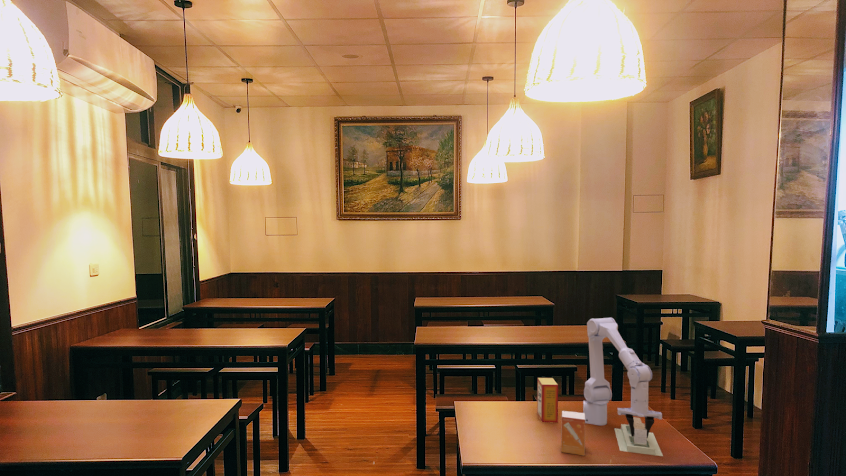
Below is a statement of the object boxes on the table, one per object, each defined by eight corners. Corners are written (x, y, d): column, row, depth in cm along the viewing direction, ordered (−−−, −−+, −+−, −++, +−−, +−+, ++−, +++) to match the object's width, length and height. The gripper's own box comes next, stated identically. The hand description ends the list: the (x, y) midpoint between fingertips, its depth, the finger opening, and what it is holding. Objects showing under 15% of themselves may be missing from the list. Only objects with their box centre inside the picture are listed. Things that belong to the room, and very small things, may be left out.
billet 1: (630, 438, 178) (630, 422, 178) (628, 431, 184) (628, 416, 184) (642, 439, 177) (642, 423, 177) (639, 433, 183) (639, 417, 182)
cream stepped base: (619, 452, 168) (619, 445, 168) (614, 430, 187) (614, 423, 187) (663, 458, 164) (663, 450, 164) (652, 434, 183) (653, 427, 183)
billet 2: (634, 445, 168) (634, 428, 168) (632, 438, 174) (632, 422, 174) (646, 446, 167) (646, 429, 167) (643, 439, 173) (644, 423, 173)
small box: (561, 452, 168) (561, 416, 168) (561, 445, 174) (561, 410, 174) (585, 456, 165) (585, 419, 165) (584, 448, 172) (584, 412, 171)
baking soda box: (537, 413, 204) (537, 376, 204) (552, 413, 204) (552, 377, 204) (541, 422, 195) (542, 383, 195) (557, 422, 195) (558, 384, 194)
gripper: (619, 400, 169) (618, 438, 169) (663, 404, 164) (663, 443, 165) (617, 394, 175) (616, 430, 176) (660, 398, 171) (659, 435, 171)
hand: (639, 436), depth 171 cm, fingers closed on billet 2, 4 cm apart
